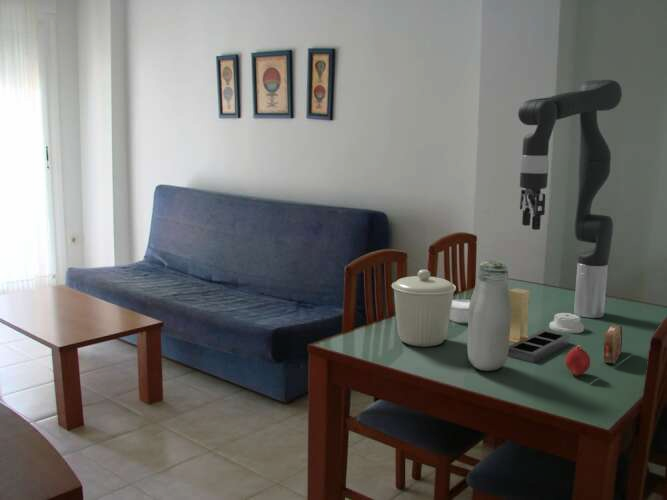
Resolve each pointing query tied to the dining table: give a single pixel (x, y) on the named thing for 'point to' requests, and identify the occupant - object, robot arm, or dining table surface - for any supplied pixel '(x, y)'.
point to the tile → (516, 340)
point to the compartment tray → (538, 345)
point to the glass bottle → (489, 317)
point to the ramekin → (459, 311)
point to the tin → (612, 344)
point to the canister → (423, 308)
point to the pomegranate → (577, 361)
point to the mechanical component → (566, 323)
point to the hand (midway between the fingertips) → (530, 227)
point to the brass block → (519, 313)
